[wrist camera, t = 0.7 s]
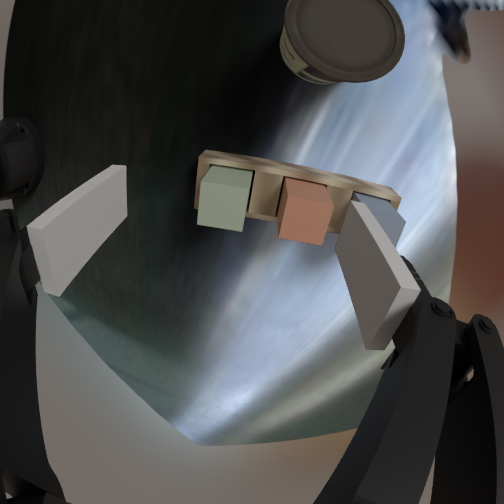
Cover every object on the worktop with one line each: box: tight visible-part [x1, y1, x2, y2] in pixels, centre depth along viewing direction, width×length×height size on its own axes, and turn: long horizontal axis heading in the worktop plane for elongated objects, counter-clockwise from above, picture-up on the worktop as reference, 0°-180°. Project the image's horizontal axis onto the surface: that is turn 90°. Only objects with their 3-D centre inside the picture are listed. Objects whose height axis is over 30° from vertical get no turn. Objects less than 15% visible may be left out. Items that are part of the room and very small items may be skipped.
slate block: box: [343, 191, 406, 247], centre depth 34 cm, size 5×5×7 cm
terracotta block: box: [277, 176, 334, 246], centre depth 34 cm, size 5×5×7 cm
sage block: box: [197, 164, 253, 232], centre depth 34 cm, size 5×5×7 cm
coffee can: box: [280, 0, 405, 84], centre depth 23 cm, size 10×10×14 cm
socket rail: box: [194, 150, 401, 234], centre depth 38 cm, size 26×7×4 cm, turn 81°
